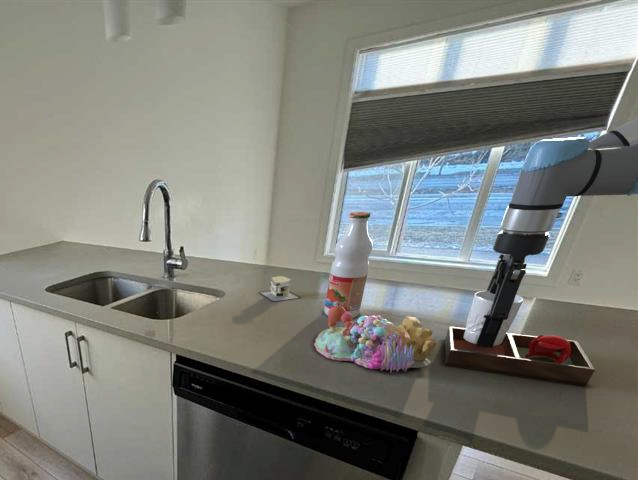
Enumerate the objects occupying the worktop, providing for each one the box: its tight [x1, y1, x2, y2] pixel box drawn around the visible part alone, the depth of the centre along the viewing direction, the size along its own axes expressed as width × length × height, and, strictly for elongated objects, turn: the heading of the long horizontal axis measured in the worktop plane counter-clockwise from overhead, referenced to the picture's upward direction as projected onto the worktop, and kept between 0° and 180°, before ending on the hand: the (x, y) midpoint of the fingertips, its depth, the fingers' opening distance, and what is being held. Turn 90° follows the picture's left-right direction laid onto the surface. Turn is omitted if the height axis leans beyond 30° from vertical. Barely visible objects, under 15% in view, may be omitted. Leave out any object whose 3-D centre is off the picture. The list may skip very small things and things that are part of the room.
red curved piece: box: [525, 334, 571, 364], centre depth 84 cm, size 8×6×6 cm
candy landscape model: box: [313, 305, 438, 374], centre depth 96 cm, size 25×24×9 cm
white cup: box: [463, 290, 525, 346], centre depth 87 cm, size 8×8×10 cm
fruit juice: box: [323, 211, 374, 319], centre depth 113 cm, size 9×9×28 cm
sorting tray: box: [444, 326, 596, 387], centre depth 88 cm, size 22×14×4 cm, turn 57°
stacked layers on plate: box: [260, 275, 299, 302], centre depth 137 cm, size 10×9×6 cm
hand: (482, 338), depth 90 cm, fingers closed on white cup, 8 cm apart
